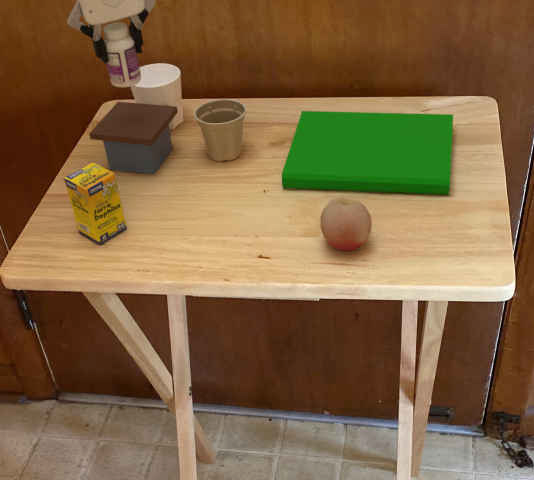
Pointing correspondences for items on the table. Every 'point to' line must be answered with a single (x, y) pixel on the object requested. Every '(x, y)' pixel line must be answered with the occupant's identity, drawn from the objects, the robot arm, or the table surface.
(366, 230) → the fruit
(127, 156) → the stand
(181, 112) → the cup
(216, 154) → the flower pot
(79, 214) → the supplement box
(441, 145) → the book
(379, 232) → the table surface
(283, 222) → the table surface
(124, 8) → the robot arm
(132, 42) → the pill bottle
